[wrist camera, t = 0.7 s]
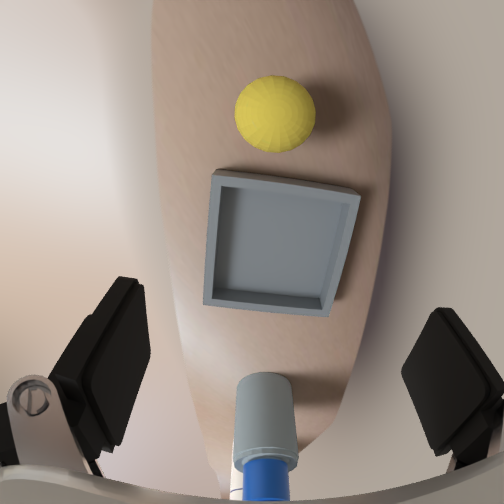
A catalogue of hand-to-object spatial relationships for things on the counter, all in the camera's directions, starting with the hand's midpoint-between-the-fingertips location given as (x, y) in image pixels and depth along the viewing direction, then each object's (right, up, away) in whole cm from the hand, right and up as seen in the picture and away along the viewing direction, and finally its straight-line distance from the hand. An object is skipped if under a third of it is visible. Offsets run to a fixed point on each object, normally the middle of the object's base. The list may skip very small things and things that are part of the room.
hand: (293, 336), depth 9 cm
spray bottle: (+1, -20, +37) cm, 42 cm away
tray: (+1, +4, +26) cm, 26 cm away
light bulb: (+1, +17, +20) cm, 26 cm away
